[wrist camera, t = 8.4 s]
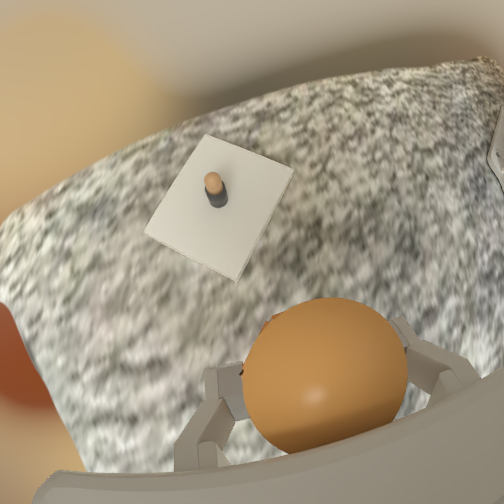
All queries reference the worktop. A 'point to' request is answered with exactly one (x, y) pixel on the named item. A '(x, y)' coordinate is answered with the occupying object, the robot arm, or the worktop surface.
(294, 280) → the worktop surface
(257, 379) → the fluted domed cylinder
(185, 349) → the worktop surface
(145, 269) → the worktop surface
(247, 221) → the board
